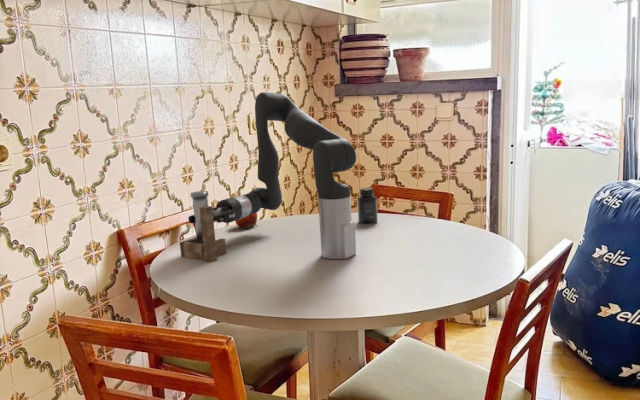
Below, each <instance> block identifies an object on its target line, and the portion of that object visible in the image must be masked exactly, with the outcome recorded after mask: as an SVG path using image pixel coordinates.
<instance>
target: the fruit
mask: <svg viewBox="0 0 640 400" xmlns="http://www.w3.org/2000/svg"><path fill="white" fill-rule="evenodd" d="M257 221H258V212H256V213H254V214H251V215H248V216H246V217H244V218H242V219H239V220H236V221H235V224H236V225H237V226H238V228H240V229H245V228H246V229H249V228H250V227H258V225H257Z"/></svg>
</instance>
